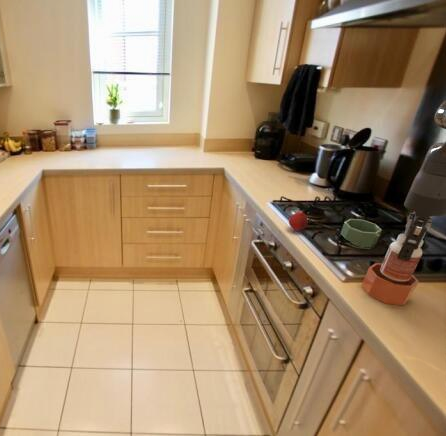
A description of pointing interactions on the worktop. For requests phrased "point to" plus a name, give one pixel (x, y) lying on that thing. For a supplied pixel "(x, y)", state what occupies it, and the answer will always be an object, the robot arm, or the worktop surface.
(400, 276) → the pill bottle
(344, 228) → the green pot
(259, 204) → the worktop surface
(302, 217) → the onion
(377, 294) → the terracotta pot
